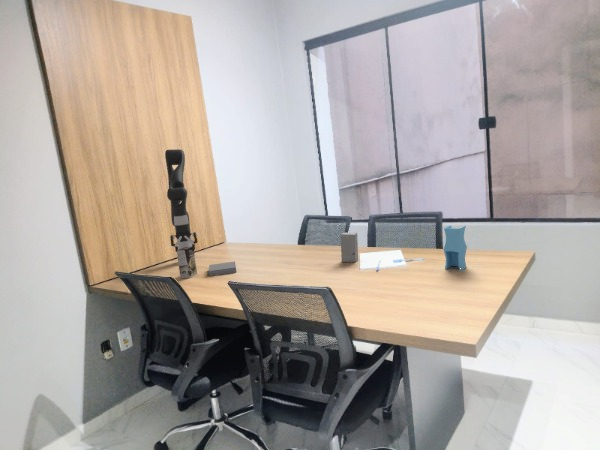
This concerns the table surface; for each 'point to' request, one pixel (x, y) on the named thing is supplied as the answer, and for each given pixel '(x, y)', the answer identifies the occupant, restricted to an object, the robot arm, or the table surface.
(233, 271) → the riser
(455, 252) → the vase
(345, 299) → the table surface
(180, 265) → the coffee box
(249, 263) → the table surface
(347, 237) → the skincare box
